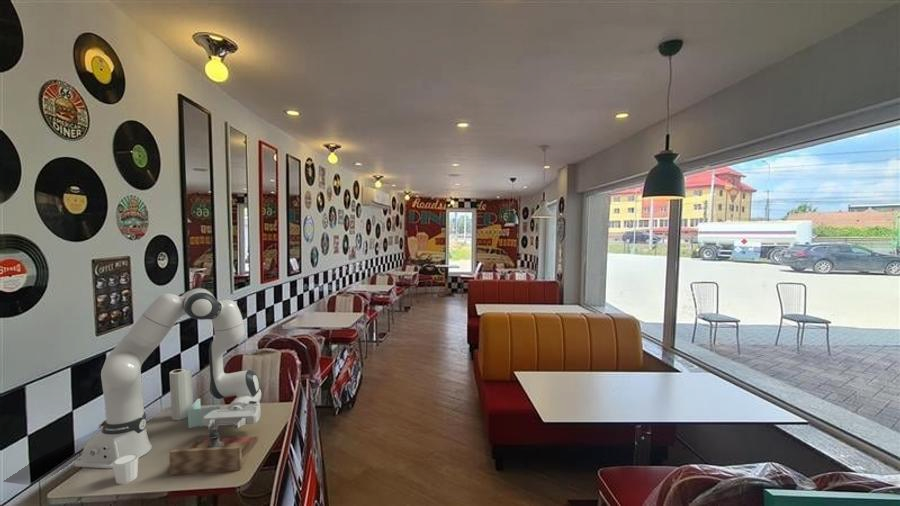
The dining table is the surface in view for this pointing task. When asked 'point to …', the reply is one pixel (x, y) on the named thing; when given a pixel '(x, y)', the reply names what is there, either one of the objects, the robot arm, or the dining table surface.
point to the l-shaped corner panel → (198, 414)
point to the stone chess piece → (214, 437)
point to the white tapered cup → (125, 468)
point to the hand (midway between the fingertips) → (223, 427)
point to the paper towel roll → (181, 393)
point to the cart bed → (212, 456)
